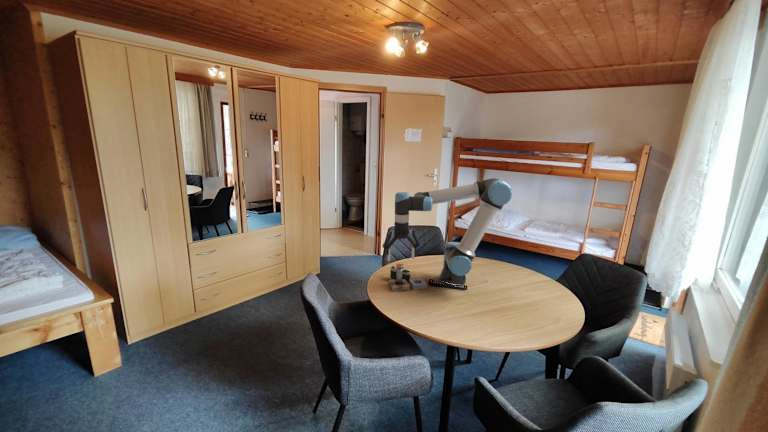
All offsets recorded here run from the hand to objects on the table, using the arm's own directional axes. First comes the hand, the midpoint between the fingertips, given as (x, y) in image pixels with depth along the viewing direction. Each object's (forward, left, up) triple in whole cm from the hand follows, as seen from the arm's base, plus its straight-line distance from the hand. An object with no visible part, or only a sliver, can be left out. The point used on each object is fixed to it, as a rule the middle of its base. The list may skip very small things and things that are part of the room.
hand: (400, 259), depth 178 cm
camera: (-4, -11, -17) cm, 20 cm away
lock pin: (0, 0, -16) cm, 16 cm away
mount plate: (-11, 0, -16) cm, 19 cm away
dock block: (0, 0, -16) cm, 16 cm away
